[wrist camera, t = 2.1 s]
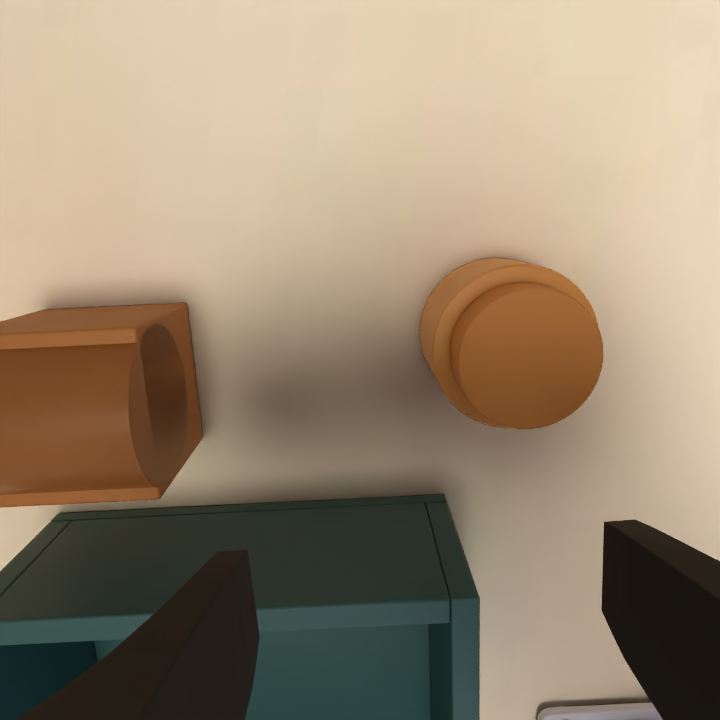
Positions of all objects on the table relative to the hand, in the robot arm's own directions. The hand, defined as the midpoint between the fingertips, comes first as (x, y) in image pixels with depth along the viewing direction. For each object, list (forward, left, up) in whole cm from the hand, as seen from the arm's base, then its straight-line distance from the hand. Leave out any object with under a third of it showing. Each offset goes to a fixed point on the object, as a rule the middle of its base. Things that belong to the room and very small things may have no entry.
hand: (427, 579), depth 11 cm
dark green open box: (+5, +9, -10) cm, 14 cm away
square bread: (+9, -2, -10) cm, 14 cm away
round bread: (-4, -3, -10) cm, 11 cm away
